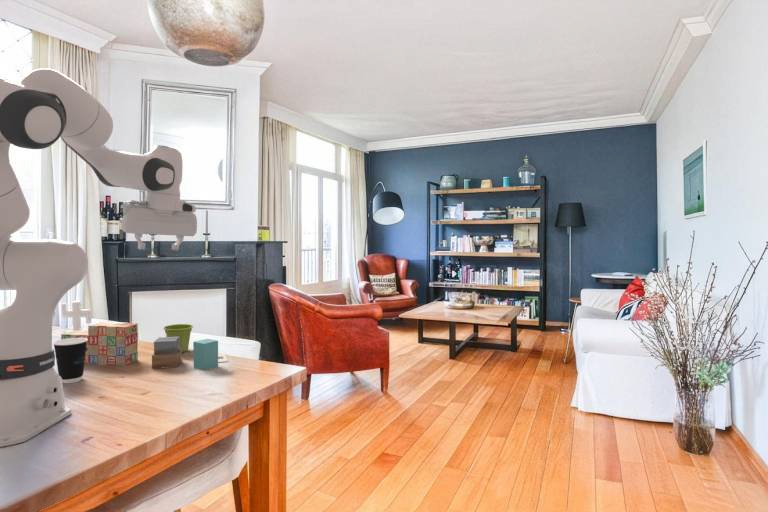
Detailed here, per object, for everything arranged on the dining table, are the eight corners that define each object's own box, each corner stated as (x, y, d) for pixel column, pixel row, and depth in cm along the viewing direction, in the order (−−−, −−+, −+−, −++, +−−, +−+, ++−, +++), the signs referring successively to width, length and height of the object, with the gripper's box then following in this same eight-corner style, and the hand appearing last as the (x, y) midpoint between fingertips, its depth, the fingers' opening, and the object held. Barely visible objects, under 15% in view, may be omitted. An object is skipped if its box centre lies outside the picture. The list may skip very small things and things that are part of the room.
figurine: (89, 341, 170) (88, 301, 169) (59, 342, 167) (58, 302, 166) (93, 337, 177) (93, 299, 176) (65, 338, 174) (64, 300, 173)
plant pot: (193, 347, 162) (193, 323, 162) (192, 353, 153) (192, 328, 153) (165, 349, 159) (164, 324, 159) (162, 355, 150) (161, 330, 150)
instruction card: (227, 361, 144) (227, 360, 144) (200, 364, 140) (200, 363, 140) (225, 354, 153) (225, 353, 153) (199, 356, 150) (199, 355, 150)
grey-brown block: (177, 367, 137) (176, 341, 137) (151, 368, 135) (151, 342, 135) (181, 361, 144) (181, 336, 144) (157, 362, 142) (157, 337, 142)
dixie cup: (86, 382, 122) (86, 342, 122) (50, 386, 118) (50, 345, 118) (90, 374, 129) (89, 336, 129) (56, 378, 125) (55, 339, 125)
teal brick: (218, 366, 138) (218, 340, 138) (204, 370, 134) (203, 343, 134) (207, 363, 141) (207, 338, 141) (193, 367, 137) (193, 341, 136)
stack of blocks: (61, 363, 140) (60, 324, 140) (76, 358, 147) (76, 320, 146) (125, 366, 138) (125, 326, 138) (138, 360, 145) (138, 322, 144)
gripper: (127, 200, 122) (123, 250, 123) (201, 207, 137) (196, 252, 138) (119, 198, 126) (116, 246, 128) (192, 205, 141) (188, 248, 143)
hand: (158, 249), depth 133 cm, fingers open, 8 cm apart
